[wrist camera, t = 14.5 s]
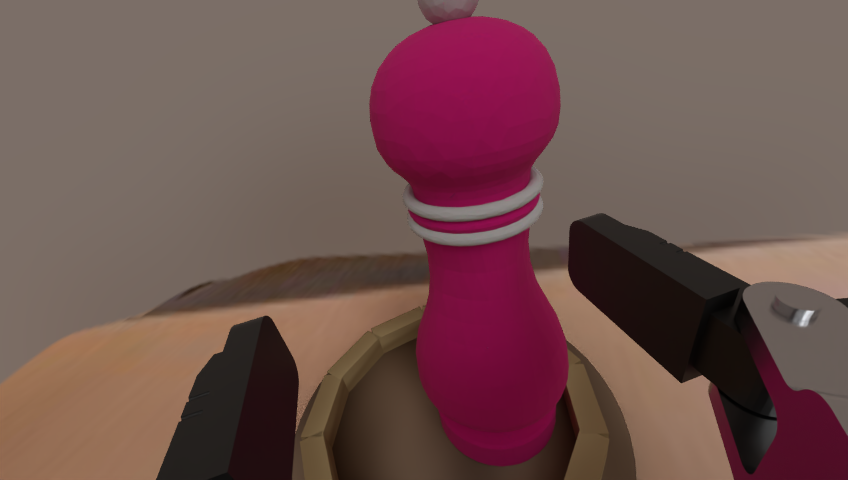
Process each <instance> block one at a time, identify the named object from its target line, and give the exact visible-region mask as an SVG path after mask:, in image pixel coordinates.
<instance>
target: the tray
mask: <svg viewBox="0 0 848 480" xmlns="http://www.w3.org/2000/svg"><path fill="white" fill-rule="evenodd" d="M425 307H426V306H423V309H421V308H420V307H418V308H415V309H413V310H411V311H409V312H407V313H404V314H402V315H400V316H398V317H396V318H393V319H391V320H389V321H387V322H385V323H382V324H380V325H378V326H376V327H374V328H371V330H372V332H369V331H367V332H366V333H365V334H364V335H363V336H362V337H361V338H360V339H359V340H358V341H357V342H356V343H355V344H354V345H353V346H352V347H351V348H350V349H349V350H348V351H347V352H346V353H345V354H344V355H343V356H342V357H341V358H340V359H339V360H338V361H337V362H336V363H335V364H334V365H333V366H332V367H331V368H330V369H329V370H328V371H327V372H328V374H327V375H325V376H324V379H323V380H322V382H321V383H320V384H319V386H318V388H317V389H316V391H315V393H314V394H313V396H312V398H311V399H310V401H309V403H308V405H307V407H306V409H305V411H304V414H303V416H302V418H301V420H300V423H299V426H298V429H297V432H296V434H295V444H294V458H293V472H292V480H636V467H635V458H634V453H633V448H632V443H631V438H630V434H629V431H628V428H627V425H626V423H625V420H624V417H623V414H622V412H621V409H620V407H619V405H618V403H617V401H616V399H615V397H614V395H613V393H612V392H611V390H610V389H609V387H608V386H607V384H606V382H605V381H604V379H603V378H602V376H601V375H600V374H599V372H598V371H597V370H596V369H595V368H594V366H593V365H592V364H591V363H590V362H589V361H588V359H587V358H586V357H585V356H584V355H583V354H581V353H580V352H579V351H578V350H577V349H576V348H575V347H574V346H573V345H572V344H570V343H569V342H568V341H566V344H567V350H568V361H569V371H568V380H567V383H566V387H565V389H564V392H563V394H562V396H561V398H560V400H559V401H558V402H557V404H556V422H555V426H554V430H553V433H552V436H551V438H550V440H549V441H548V443H547V445H546V446H545V447H544V448H543V449H542V450H541V451H540V453H538V454H537V455H535V456H534V457H532V458H531V459H529V460H528V461H525V462H523V463H520V464H517V465H510V466H492V465H487V464H484V463H480V462H477V461H475V460H473V459H471V458H470V457H468V456H466V455H464V454H463V453H462V452H461V451H459V450H458V449H457V448H456V447H455V446H454V445H453V444H452V442H451V441H450V440H449V438H448V437H447V435H446V433H445V431H444V429H443V427H442V423H441V419H440V415H439V411H438V409H437V408H436V407H435V405H434V404H433V403H432V402H431V401H430V399H429V398H428V396H427V394H426V392H425V390H424V388H423V386H422V383H421V381H420V378H419V371H418V364H417V357H416V343H417V335H418V328H419V325H420V322H421V319H422V316H423V313H424V310H425Z"/></svg>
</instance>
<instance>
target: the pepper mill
mask: <svg viewBox="0 0 848 480" xmlns="http://www.w3.org/2000/svg"><path fill="white" fill-rule="evenodd" d="M477 3H478V0H418V4H419V7H420V9H421V11H422V13H423V15H424V16H425V18H426V19H427V20H428V21H429V22H431V23H432V24H433V25H430V26H428V27H426V28H424V29H422V30H420V31H418V32H416V33H414V34H412V35H410V36H408V37H407V38H406V39H405V40H403V41H402V42H401V43H399V44H398V45H397V46H395V48H394V49H393V50H392V51H391V52H390V53H389V54H388V56H387V57H386V58H385V60H384V62H383V63H382V64H381V66H380V67H379V69H378V71H377V74H376V77H375V79H374V82H373V85H372V87H371V96H370V122H371V127H372V131H373V136H374V139H375V143H376V147H377V150H378V151H379V153H380V155H381V156H382V157H383V159H384V160H385V162H386V163H387V164H388V166H389V167H390V168H392V170H393V171H394V172H396V173H397V174H399V175H400V176H402V177H403V178H404V179H405V180H406V181H407V182H408V183H409V184H408V185H407V186H406V188H405V190H404V192H403V202H404V204H405V206H406V207H407V208H408V211H409V212H408V218H407V219H408V224H409V226H410V228H411V230H412V231H413V232H414V233H415V234H416V235H418V236H419V237H421V238H423V240H424V244H425V247H426V251H427V254H428V262H429V270H430V286H429V296H428V300H427V304H426V307H425V310H424V313H423V316H422V319H421V322H420V325H419V328H418V335H417V343H416V357H417V364H418V371H419V378H420V381H421V383H422V386H423V388H424V390H425V392H426V394H427V396H428V398H429V399H430V401H431V402H432V403H433V404H434V405H435V407H436V408H437V409H438V411H439V415H440V419H441V423H442V427H443V429H444V431H445V433H446V435H447V437H448V438H449V440H450V441H451V442H452V444H453V445H454V446H455V447H456V448H457V449H458V450H459V451H461V452H462V453H463V454H464V455H466V456H468V457H470V458H471V459H473V460H475V461H477V462H480V463H484V464H487V465H492V466H510V465H517V464H520V463H523V462H525V461H528V460H529V459H531V458H532V457H534V456H535V455H537V454H538V453H540V451H541V450H542V449H543V448H544V447H545V446H546V445H547V443H548V441H549V440H550V438H551V436H552V433H553V430H554V426H555V422H556V404H557V402H558V401H559V400H560V398H561V396H562V394H563V392H564V389H565V387H566V383H567V380H568V371H569V361H568V350H567V344H566V339H565V336H564V333H563V330H562V328H561V325H560V322H559V320H558V317H557V315H556V313H555V311H554V309H553V308H552V306H551V304H550V303H549V301H548V299H547V298H546V296H545V294H544V293H543V291H542V289H541V288H540V286H539V284H538V282H537V280H536V277H535V274H534V271H533V268H532V265H531V262H530V253H529V243H528V238H529V228H530V226H532V225H533V224H534V223H535V222H536V221H537V220H538V218H539V217H540V215H541V213H542V211H543V201H542V198H541V196H540V191H541V189H542V186H543V177H542V175H541V173H540V172H539V171H538V170H537V169H536V168H535V167H533V166H532V165H533V164H534V162H535V160H536V159H537V158H538V156H539V155H540V154H541V153H542V152H543V150H544V149H545V147H546V146H547V145H548V143H549V142H550V141H551V139H552V138H553V136H554V133H555V131H556V128H557V126H558V122H559V114H560V87H559V82H558V78H557V74H556V69H555V65H554V63H553V61H552V59H551V57H550V55H549V53H548V51H547V49H546V48H545V46H543V44H542V43H541V42H540V41H539V40H538V39H537V38H536V37H535V36H534V34H532V33H531V32H529V31H528V30H526V29H525V28H523V27H521V26H519V25H517V24H514V23H512V22H509V21H507V20H503V19H498V18H490V17H483V16H481V17H470V16H471V15H472V13H473V12H474V10H475V8H476V6H477Z"/></svg>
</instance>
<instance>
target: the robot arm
mask: <svg viewBox="0 0 848 480" xmlns="http://www.w3.org/2000/svg"><path fill="white" fill-rule="evenodd" d="M568 271H569V276H570V279H571V281H572V283H573V285H574V286H575V287H576V289H577V290H578V291H579V292H580V293H582V294H583V295H584V296H585V297H586V298H587V299H588V300H589V301H590V302H592V303H593V304H594V305H595V306H596V307H597V308H598V309H599V310H600V311H602V312H603V313H604V314H605V315H606V316H607V317H608V318H609V319H610V320H612V321H613V322H614V323H615V324H616V325H617V326H618V327H619V328H620V329H622V330H623V331H624V332H625V333H626V334H627V335H628V336H629V337H630V338H632V339H633V340H634V341H635V342H636V343H637V344H638V345H639V346H640V347H642V348H643V349H644V350H645V351H646V352H647V353H648V354H649V355H650V356H652V357H653V358H654V359H655V360H656V361H657V362H658V363H659V364H660V365H662V366H663V367H664V368H665V369H666V370H667V371H668V372H669V373H670V374H672V375H673V376H674V377H675V378H676V379H677V380H678V381H679V382H680V383H683V382H686V381H688V380H691V379H693V378H696V377H698V376H701V375H703V376H704V377H706V378H707V379H708V380H709V381H711V382H710V384H709V389H708V392H709V397H710V400H711V403H712V407H713V410H714V413H715V417H716V420H717V423H718V427H719V430H720V433H721V437H722V440H723V443H724V447H725V450H726V453H727V457H728V460H729V463H730V467H731V470H732V473H733V477H734V480H848V298H842V299H834V298H832V297H830V296H828V295H826V294H824V293H822V292H819V291H817V290H814V289H811V288H808V287H804V286H800V285H796V284H790V283H783V282H761V283H756V284H753V285H750V284H748V283H746V282H744V281H742V280H740V279H738V278H736V277H735V276H733V275H731V274H729V273H727V272H725V271H723V270H721V269H719V268H717V267H715V266H714V265H712V264H710V263H708V262H706V261H704V260H702V259H700V258H698V257H696V256H695V255H693V254H691V253H689V252H683V249H681V248H679V247H677V246H676V245H674V244H672V243H669V244H668V243H667V241H666V240H664V239H662V238H660V237H658V236H656V235H655V234H653V233H651V232H649V231H646V230H642V229H638V228H635V227H631V226H628V225H624V224H622V223H620V222H619V221H617V220H615V219H613V218H611V217H610V216H608V215H606V214H603V213H600V214H596V215H593V216H590V217H587V218H583V219H580V220H577V221H574V222H573V223H572V224H571V226H570V232H569V261H568ZM298 387H299V378H298V371H297V367H296V364H295V361H294V359H293V357H292V355H291V353H290V351H289V349H288V347H287V346H286V344H285V342H284V340H283V338H282V337H281V335H280V333H279V331H278V329H277V327H276V326H275V324H274V322H273V320H272V319H271V318H270V317H269V316H263V317H260V318H257V319H253V320H250V321H247V322H244V323H240V324H237V325H234V326H233V327H232V328H231V330H230V332H229V335H228V338H227V341H226V344H225V347H224V350H223V352H221V353H217V354H214V355H213V356H212V358H211V359H210V360H209V361H208V363H207V364H206V365H205V366H204V368H203V369H202V370H201V371H200V373H199V374H198V375H197V377H196V380H195V382H194V385H193V387H192V390H191V392H190V395H189V397H188V398H189V402H187V403H186V405H185V408H184V410H183V413H182V415H181V419H182V420H181V422H179V423H178V425H177V428H176V430H175V433H174V435H173V438H172V441H171V443H170V446H169V448H168V451H167V453H166V456H165V458H164V461H163V463H162V466H161V468H160V471H159V474H158V476H157V479H156V480H292V472H293V458H294V444H295V430H296V416H297V402H298Z"/></svg>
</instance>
